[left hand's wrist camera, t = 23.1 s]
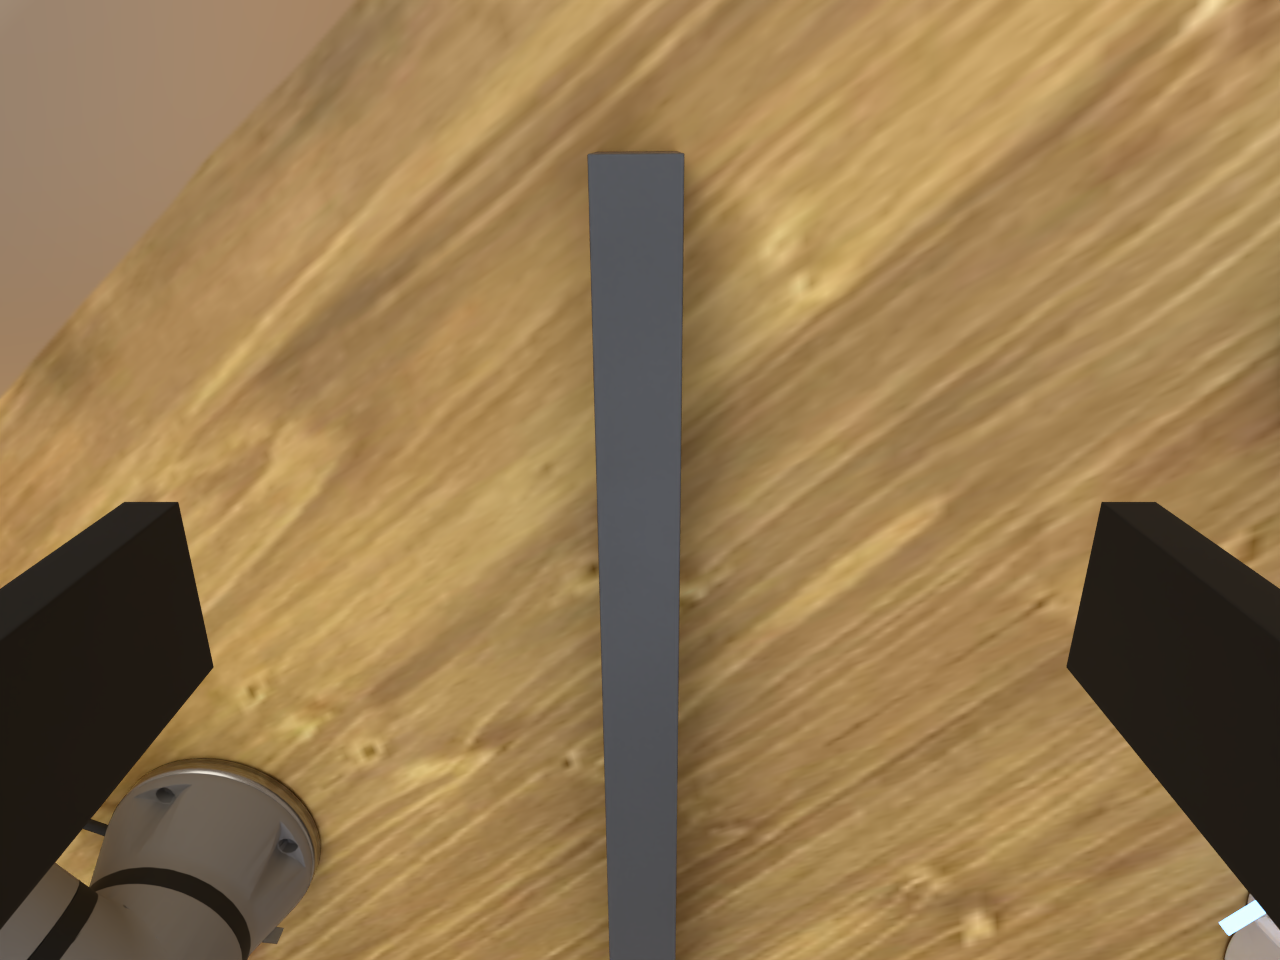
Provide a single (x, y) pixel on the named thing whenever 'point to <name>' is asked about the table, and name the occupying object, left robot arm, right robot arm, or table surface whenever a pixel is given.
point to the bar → (639, 530)
